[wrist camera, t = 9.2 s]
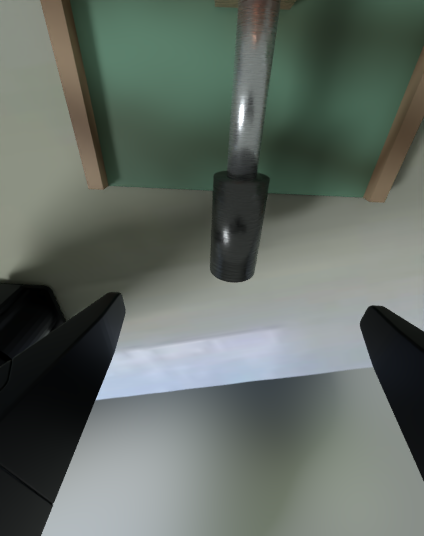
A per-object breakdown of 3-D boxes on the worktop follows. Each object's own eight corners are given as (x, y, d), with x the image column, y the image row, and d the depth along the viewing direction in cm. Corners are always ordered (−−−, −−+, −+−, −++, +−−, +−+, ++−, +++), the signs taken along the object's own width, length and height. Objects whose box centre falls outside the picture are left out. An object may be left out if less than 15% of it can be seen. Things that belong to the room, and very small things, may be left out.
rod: (253, 245, 19) (264, 297, 14) (208, 242, 19) (202, 294, 14) (301, -72, 10) (381, -244, 5) (217, -75, 10) (212, -249, 5)
